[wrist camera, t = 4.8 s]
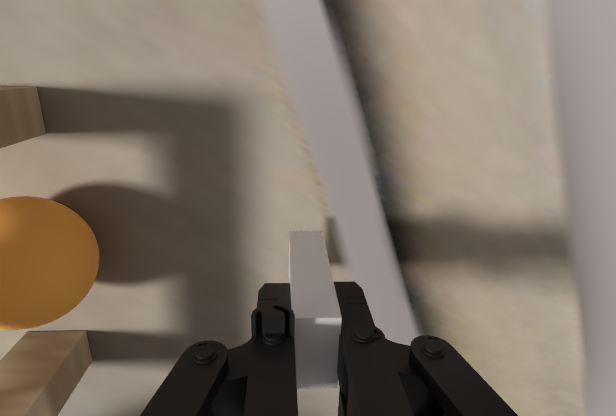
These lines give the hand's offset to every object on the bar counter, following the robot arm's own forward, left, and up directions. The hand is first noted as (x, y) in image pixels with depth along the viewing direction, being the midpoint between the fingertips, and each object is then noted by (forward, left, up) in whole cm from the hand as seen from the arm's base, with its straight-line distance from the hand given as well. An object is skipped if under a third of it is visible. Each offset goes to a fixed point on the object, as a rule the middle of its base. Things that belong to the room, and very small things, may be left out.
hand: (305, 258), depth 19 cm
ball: (0, +12, +1) cm, 12 cm away
